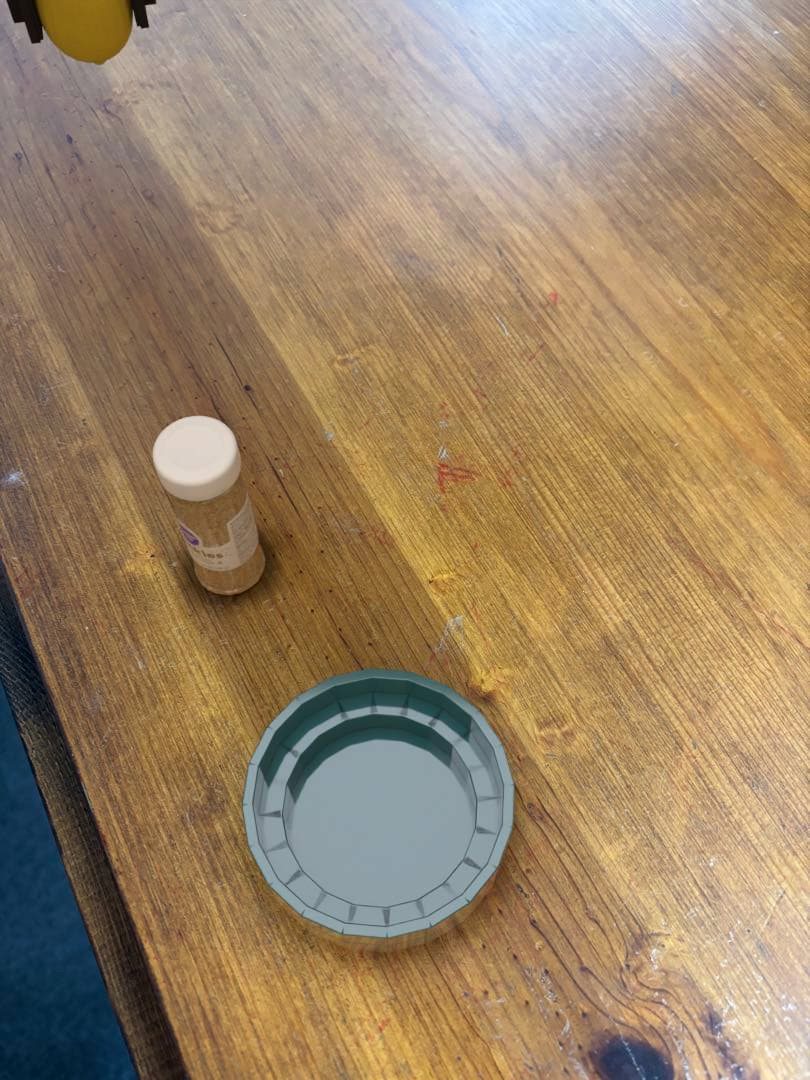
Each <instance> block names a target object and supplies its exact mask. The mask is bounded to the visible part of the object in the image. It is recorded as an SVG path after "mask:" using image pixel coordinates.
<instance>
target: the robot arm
mask: <svg viewBox="0 0 810 1080" xmlns="http://www.w3.org/2000/svg"><path fill="white" fill-rule="evenodd" d="M5 1H6V4H7V7H8V9H9V13H10V16H11V19H12V21H13V24H21V23H24V26H25V28H26V31H27V34H28V37H29V41H30V43H31V45H35V44H40V43H41V42H42V41H43V40H44V39H45V38H44V28H43V27H42V25H41V23H40V20H39V17H38V14H37V11H36V8H35V3H34V0H5ZM131 3H132V8H133V17H134V21H135V25H136V27H137V28H138V27H139V28H140V29H142V30H143V29H149V28H150V23H149V18H148V13H147V6H152V5H157V0H131Z"/></svg>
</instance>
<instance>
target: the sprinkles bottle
mask: <svg viewBox="0 0 810 1080" xmlns="http://www.w3.org/2000/svg"><path fill="white" fill-rule="evenodd" d="M152 462H153V466H154V468H155V471H156V474H157V478H158V479H159V482H160V484H161V485H162V487H163V488H164V489H165V490H166V491H167V493H168V496H169V498H170V501H171V503H172V506H173V508H174V511H175V514H176V520H177V523H178V526H179V528H180V531H181V534H182V537H183V540H184V543H185V545H186V548H187V552H188V553H189V555H190V557H191V559H192V562H193V566H194V571H195V575H196V578H197V579H198V581H199V583H200V584H201V585H202V587H204V588H205V589H206V590H207V591H209V592H212V593H214V594H216V595H224V596H234V595H237V594H241V593H243V592H247V590H249V589H250V588H252V587H253V586H255V585H256V584H257V583H258V582H259V580H260V579H261V577H262V575H263V573H264V570H265V567H266V557H265V554H264V550H263V548H262V546H261V545H260V541H259V532H258V527H257V524H256V520H255V516H254V512H253V508H252V505H251V501H250V496H249V492H248V488H247V485H246V483H245V481H244V476H243V472H242V457H241V453H240V449H239V446H238V442H237V439H236V436H235V434H234V432H233V431H232V430H231V429H230V427H229V426H228V425H226V424H225V423H224V422H222V421H221V420H219V419H216V418H214V417H210V416H206V415H191V416H186V417H183V418H179V419H177V420H175V421H173V422H172V423H170V424H168V426H166V427H164V428H163V430H162V431H161V432H160V433H159V435H158V436H157V437H156V440H155V442H154V444H153V448H152Z"/></svg>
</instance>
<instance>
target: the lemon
mask: <svg viewBox="0 0 810 1080" xmlns="http://www.w3.org/2000/svg"><path fill="white" fill-rule="evenodd" d="M34 3H35V8H36V11H37V14H38V17H39V20H40V23H41V25H42V28H43V31H44V33H45V34H46V36H47V37H48V38H49V40H50V42H51V43H52V44H53V45H54V46H55V47H56V48H57V49H58V50H59V51H60V52H62V53H63V54H64V55H66V56H67V57H69V58H71V59H73V60H76V61H77V62H81V63H87V64H94V65H97V66H103V65H104V64H105V63H106V62H107V61H108V60H111V59H113V58H114V57H116V56H117V55H118V54H120V52H121V51H122V50H123V49H124V48H125V46H126V45H127V43H128V42H129V39H130V37H131V34H132V31H133V23H134V12H133V8H132V3H131V0H34Z"/></svg>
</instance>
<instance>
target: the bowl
mask: <svg viewBox="0 0 810 1080" xmlns="http://www.w3.org/2000/svg"><path fill="white" fill-rule="evenodd" d="M515 788H516V786H515V780H514V777H513V774H512V770H511V767H510V764H509V761H508V756H507V753H506V750H505V746H504V745H503V742H502V741H501V739H500V738H499V737H498V735H497V734H496V731H494V729H493V728H492V726H491V724H489V722H488V720H487V719H486V717H485V716H484V714H483V712H481V710H480V709H478V708H477V707H476V706H474V705H473V704H472V703H471V702H470V701H469V700H467V699H466V698H465V697H463V696H462V695H461V694H459V693H458V692H457V691H456V690H455V689H453V688H452V687H451V686H450V685H448V684H445V683H442V682H439V681H437V680H435V679H432V678H429V677H427V676H424V675H422V674H419V673H416V672H415V671H410V670H398V669H385V668H373V667H370V668H369V667H368V668H365V669H360V670H355V671H352V672H346V673H341V674H337V675H333V676H331V677H329V678H327V679H324V680H323V681H322V682H320V683H318V684H316V685H314V686H312V687H311V688H309V689H307V690H305V691H303V692H302V693H299V694H298V695H296V696H295V697H294V698H293V699H292V700H291V701H290V702H289V703H288V704H287V705H286V706H285V707H284V708H283V709H282V710H281V711H280V712H279V713H278V714H277V716H276V717H275V718H273V720H272V721H271V722H270V723H269V724H268V725H267V727H266V728H265V730H264V731H263V734H262V736H261V738H260V739H259V741H258V744H257V746H256V747H255V749H254V751H253V753H252V755H251V758H250V759H249V761H248V764H247V770H246V775H245V782H244V788H243V795H242V800H241V811H242V816H243V823H244V824H243V825H244V829H245V836H246V843H247V847H248V850H249V852H250V854H251V855H252V858H253V859H254V862H255V863H256V865H257V867H258V869H259V871H260V873H261V874H262V877H263V878H264V881H265V883H266V884H267V886H268V888H269V889H270V891H271V893H272V895H273V896H274V899H275V900H276V902H277V903H278V904H279V905H280V906H281V907H282V908H283V909H284V910H285V911H286V912H287V913H288V914H289V915H290V916H291V917H292V918H294V919H295V921H296V922H297V923H299V924H300V925H301V926H302V927H303V928H304V929H305V930H306V931H307V932H309V933H310V934H313V935H315V936H318V937H319V938H322V939H324V940H327V941H328V942H331V943H332V944H335V945H337V946H339V947H342V948H344V949H347V950H355V951H356V950H357V951H365V952H367V951H368V952H378V953H392V952H397V951H401V950H406V949H409V948H414V947H417V946H422V945H426V944H429V943H431V942H433V941H435V940H436V939H438V938H440V937H441V936H443V935H444V934H446V933H447V932H449V931H450V930H452V929H453V928H456V927H457V926H459V925H460V924H461V923H463V922H464V921H466V920H467V919H468V918H469V917H470V915H472V914H473V912H474V911H475V909H476V908H477V907H478V906H479V904H480V903H481V902H482V901H483V899H484V898H485V897H486V896H487V894H488V893H489V892H490V891H491V890H492V888H493V886H494V884H495V883H496V882H495V881H496V879H497V876H498V873H499V871H500V867H501V865H502V862H503V860H504V857H505V854H506V852H507V849H508V846H509V842H510V839H511V835H512V833H513V829H514V820H515V792H516V791H515Z"/></svg>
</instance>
